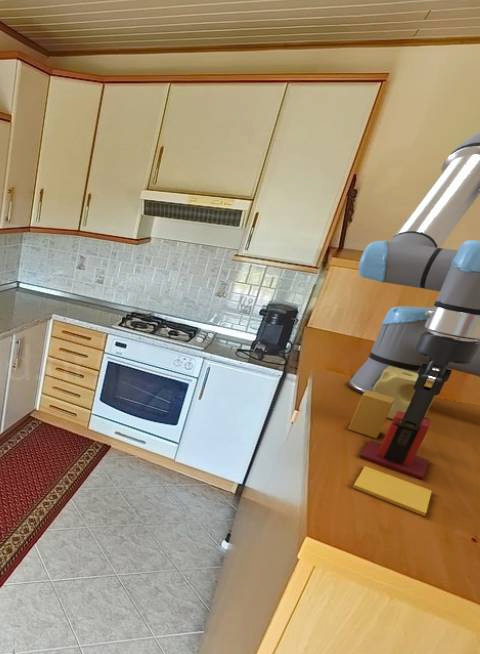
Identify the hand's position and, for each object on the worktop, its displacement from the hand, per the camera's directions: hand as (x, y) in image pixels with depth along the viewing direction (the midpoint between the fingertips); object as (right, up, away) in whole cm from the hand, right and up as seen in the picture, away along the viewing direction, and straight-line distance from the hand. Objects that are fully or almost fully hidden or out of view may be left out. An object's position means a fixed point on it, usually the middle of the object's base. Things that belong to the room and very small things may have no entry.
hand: (395, 455), depth 90 cm
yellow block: (+4, +3, +12) cm, 13 cm away
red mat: (0, -1, 0) cm, 1 cm away
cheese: (+20, +5, +23) cm, 31 cm away
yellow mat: (-10, -4, -11) cm, 15 cm away
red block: (0, 0, 0) cm, 0 cm away
